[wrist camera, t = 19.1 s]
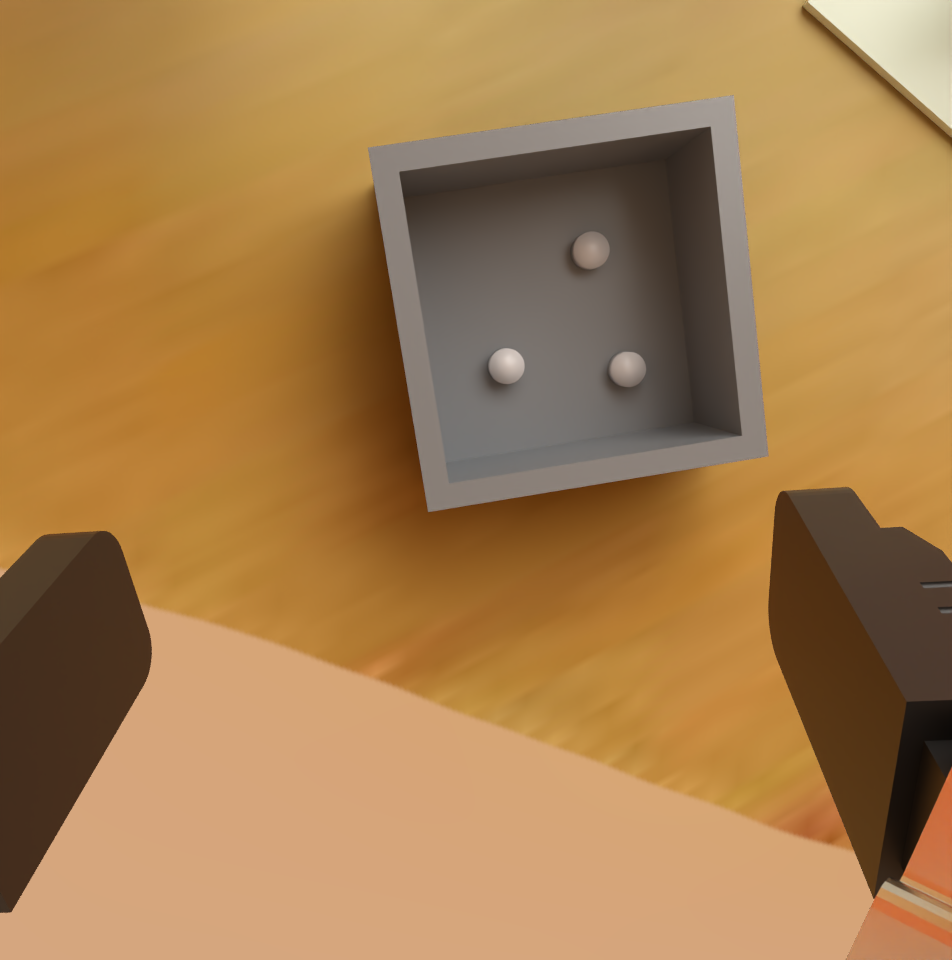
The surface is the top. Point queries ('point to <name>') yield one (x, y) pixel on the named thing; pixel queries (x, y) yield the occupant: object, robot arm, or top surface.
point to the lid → (900, 46)
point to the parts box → (573, 300)
